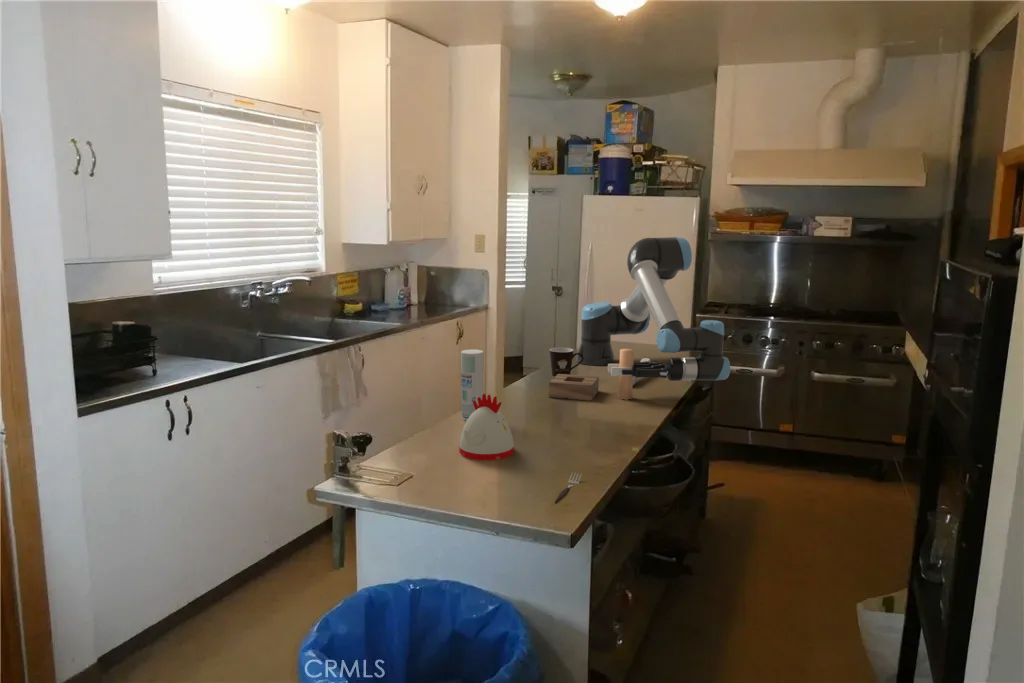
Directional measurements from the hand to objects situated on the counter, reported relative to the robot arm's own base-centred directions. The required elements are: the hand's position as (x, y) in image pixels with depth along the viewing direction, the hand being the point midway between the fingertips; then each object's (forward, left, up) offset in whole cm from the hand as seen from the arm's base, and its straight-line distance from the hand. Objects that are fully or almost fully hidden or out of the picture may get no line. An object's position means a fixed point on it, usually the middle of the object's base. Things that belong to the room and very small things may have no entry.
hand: (609, 369), depth 241 cm
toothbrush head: (-29, +6, -10) cm, 32 cm away
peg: (-2, +5, -9) cm, 11 cm away
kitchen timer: (+61, -22, -10) cm, 66 cm away
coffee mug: (-26, -20, -10) cm, 34 cm away
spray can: (+34, -35, -10) cm, 50 cm away
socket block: (-2, -12, -9) cm, 15 cm away
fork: (+81, +3, -10) cm, 82 cm away
